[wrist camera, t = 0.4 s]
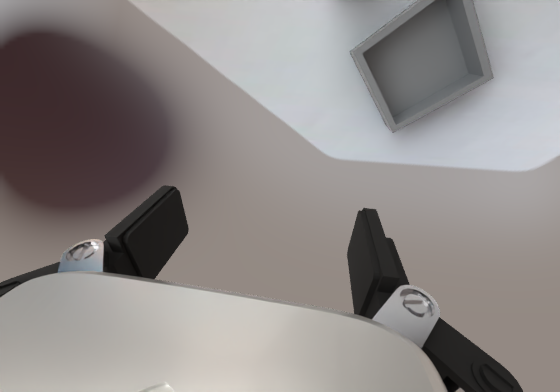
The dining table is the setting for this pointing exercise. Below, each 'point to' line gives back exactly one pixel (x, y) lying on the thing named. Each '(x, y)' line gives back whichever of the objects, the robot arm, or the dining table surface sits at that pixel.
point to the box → (423, 60)
